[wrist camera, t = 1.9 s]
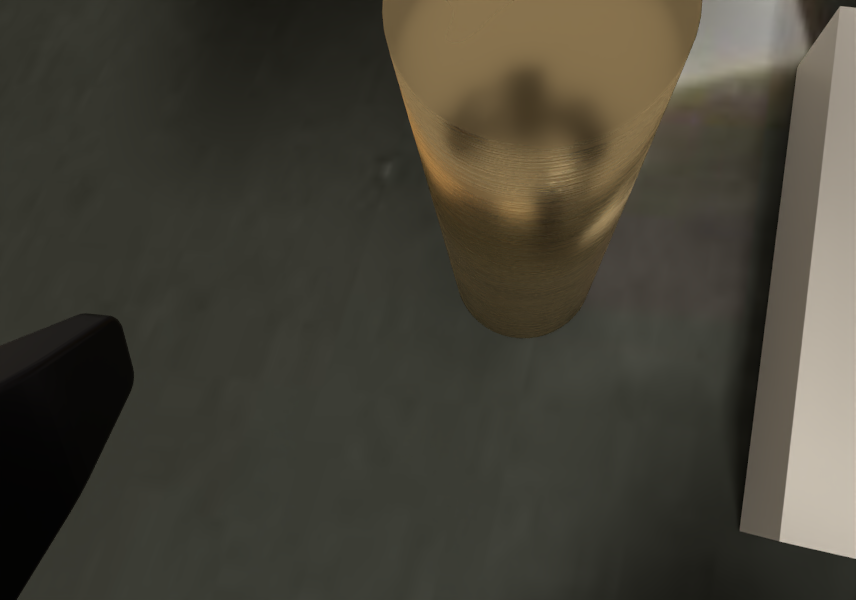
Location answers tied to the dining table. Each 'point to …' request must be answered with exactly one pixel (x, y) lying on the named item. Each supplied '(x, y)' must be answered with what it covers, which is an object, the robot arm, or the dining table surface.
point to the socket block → (812, 318)
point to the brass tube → (534, 136)
